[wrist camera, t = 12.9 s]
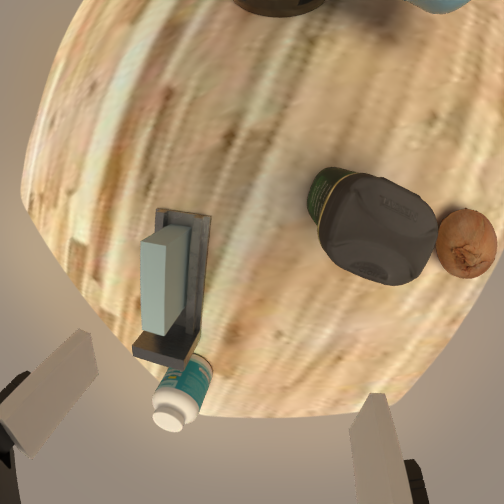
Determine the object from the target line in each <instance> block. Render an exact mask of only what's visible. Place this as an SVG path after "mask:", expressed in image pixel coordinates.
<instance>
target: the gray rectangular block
mask: <svg viewBox="0 0 504 504" xmlns="http://www.w3.org/2000/svg"><path fill="white" fill-rule="evenodd" d="M191 234H192V227H187V226H181V225H175V224H170V225H168V226H166V227H164V228H163V229H161V230H159V231H157V232H156V233H154V234H152V235H150V236H149V237H147V238H145V239H144V240H142V241H141V252H140V286H141V317H142V330H144V331H148V332H151V333H155V334H158V335H162V336H165V335H166V333H167V332H168V330H169V329H170V328H171V326H172V325H173V323H174V322H175V320H176V319H177V317H178V316H179V315H180V313H181V312H182V310H183V309H184V307H185V306H186V305H187V289H188V273H189V259H190V246H191Z"/></svg>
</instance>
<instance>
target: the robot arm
mask: <svg viewBox="0 0 504 504" xmlns="http://www.w3.org/2000/svg"><path fill="white" fill-rule="evenodd" d="M233 1H234V2H235V3H236V4H238V5H239V6H240V7H242V8H244V9H245V10H248V11H250V12H252V13H256V14H259V15H264V16H270V17H289V16H296V15H301V14H304V13H307V12H309V11H312V10H314V9H316V8H317V7H319V6H320V5H321V4H322V3H323V2H324V1H325V0H233ZM404 1H408V2H410V3H412V4H413V5H415V6H417V7H419V8H421V9H423V10H424V11H426V12H429V13H432V14H446V13H450V12H453V11H455V10H457V9H459V8H461V7H462V6H464V5H465V4H466V3H468V2H469V1H470V0H404ZM98 375H99V373H98V369H97V364H96V359H95V355H94V349H93V344H92V339H91V333H88V332H85V331H83V330H81V329H78V330H77V331H76V332H75V333H73V334H72V335H71V336H70V337H69V338H68V339H67V340H66V341H65V342H64V343H63V344H61V345H60V346H59V347H58V348H57V349H56V350H55V351H54V352H53V353H52V354H51V355H50V356H49V357H48V358H46V360H44V361H43V363H42V364H40V365H39V366H38V367H37V368H36V369H35V370H34V371H33V372H32V373H30V372H29V371H26V372H23V373H21V374H19V375H18V376H16V377H15V378H14V379H13V380H12V381H11V383H9V384H8V385H7V386H6V388H4V389H3V390H2V391H1V392H0V504H21V501H20V495H19V490H18V483H17V477H16V468H15V458H14V450H13V445H14V444H15V445H16V446H17V448H18V449H19V450H20V452H22V453H23V454H25V455H26V456H27V457H28V458H30V459H31V460H32V459H33V458H34V457H35V455H36V454H37V453H38V451H39V450H40V449H41V447H42V446H43V445H44V443H45V442H46V440H47V439H48V438H49V437H50V435H51V434H52V433H53V431H54V430H55V429H56V427H57V426H58V425H59V424H60V422H61V421H62V420H63V418H64V417H65V416H66V415H67V413H68V412H69V411H70V410H71V408H72V407H73V406H74V405H75V403H76V402H77V401H78V399H79V398H80V397H81V396H82V394H83V393H84V392H85V391H86V389H87V388H88V387H89V386H90V385H91V383H92V382H93V381H94V380H95V378H96V377H97V376H98ZM349 434H350V442H351V449H352V458H353V467H354V476H355V487H356V497H357V504H429V500H428V496H427V492H426V488H425V483H424V480H423V476H422V472H421V468H420V467H419V465H418V464H417V463H416V461H415V460H414V459H410V460H403V456H402V452H401V448H400V445H399V441H398V437H397V433H396V430H395V426H394V423H393V419H392V416H391V412H390V409H389V406H388V402H387V399H386V396H385V394H382V393H370V394H369V396H368V398H367V399H366V401H365V403H364V405H363V407H362V408H361V410H360V412H359V413H358V415H357V417H356V419H355V421H354V422H353V424H352V425H351V427H350V429H349Z"/></svg>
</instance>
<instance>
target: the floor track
mask: <svg viewBox="0 0 504 504" xmlns="http://www.w3.org/2000/svg"><path fill="white" fill-rule="evenodd" d="M170 224H175V225H181V226H187V227H192V234H191V246H190V259H189V273H188V289H187V305H186V306H185V307H184V309H183V310H182V312H181V313H180V315H179V316H178V317H177V319H176V320H175V322H174V323H173V325H172V326H171V328H170V329H169V330H168V332H167V333H166V335H165V336H162V335H158V334H155V333H151V332H148V331H143V332H142V334H141V335H140V336H139V337H138V339H137V340H136V341H135V342H134V344H133V345H132V352H133V356H134V357H137V358H140V359H144V360H147V361H150V362H153V363H156V364H160V365H163V366H167V367H170V368H174V369H177V370H181V371H184V370H185V368H186V366H187V364H188V362H189V360H190V358H191V356H192V354H193V352H194V350H195V348H196V346H197V344H198V342H199V340H200V337H201V323H202V310H203V297H204V285H205V274H206V264H207V253H208V243H209V234H210V225H211V216H206V215H200V214H194V213H187V212H181V211H174V210H167V209H161V208H157V209H156V217H155V233H156V232H157V231H159V230H161V229H163V228H164V227H166V226H168V225H170Z"/></svg>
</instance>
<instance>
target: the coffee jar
mask: <svg viewBox="0 0 504 504" xmlns="http://www.w3.org/2000/svg"><path fill="white" fill-rule="evenodd" d="M307 208H308V211H309V214H310V216H311V217H312V219H313V220H314V222H315V223H316V225H317V226H318V228H317V232H318V239H319V242H320V244H321V246H322V248H323V249H324V251H325V252H326V253H327V255H328V256H329V258H330V259H331V260H332V261H333V262H334V263H335V264H336V265H337V266H339V267H341V268H343V269H344V270H347V271H349V272H351V273H353V274H355V275H358V276H360V277H363V278H365V279H368V280H371V281H374V282H378V283H381V284H384V285H390V286H398V285H403V284H406V283H409V282H410V281H412V280H414V279H415V278H417V277H418V276H419V275H420V274H421V272H422V270H423V269H424V267H425V265H426V263H427V262H428V260H429V258H430V255H431V253H432V251H433V249H434V246H435V244H436V241H437V238H438V225H437V220H436V217H435V214H434V212H433V210H432V209H431V208H430V206H429V205H428V204H427V203H426V202H425V201H423V200H422V199H421V197H420V196H419V195H417V194H415V193H413V192H411V191H409V190H407V189H405V188H404V187H401V186H399V185H397V184H395V183H394V182H392V181H390V180H388V179H386V178H384V177H376V176H373V175H370V174H365V173H357V172H352V171H349V170H345V169H341V168H336V167H330V168H326V169H324V170H322V171H321V172H320V173H319V174H318V175H317V176H316V178H315V180H314V182H313V184H312V186H311V189H310V192H309V195H308V199H307Z"/></svg>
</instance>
